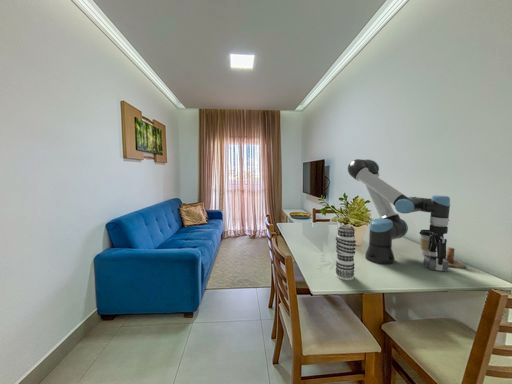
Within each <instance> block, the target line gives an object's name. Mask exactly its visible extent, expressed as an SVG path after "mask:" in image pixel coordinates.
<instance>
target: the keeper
mask: <svg viewBox="0 0 512 384" xmlns="http://www.w3.org/2000/svg"><path fill="white" fill-rule="evenodd" d="M445 260H447V261H448V262H449V265H448V268H455V269H467V266H466V265H464V264H463V263H461V262H460V261H458V260H457V259H455V248H454V247H446V259H445Z"/></svg>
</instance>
